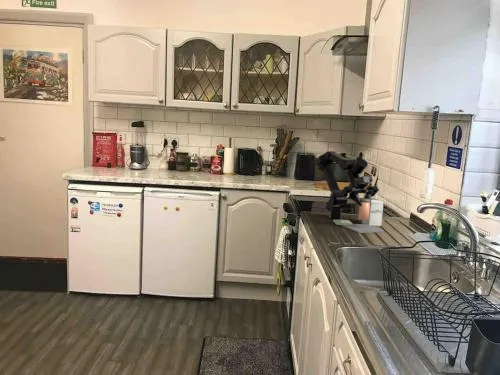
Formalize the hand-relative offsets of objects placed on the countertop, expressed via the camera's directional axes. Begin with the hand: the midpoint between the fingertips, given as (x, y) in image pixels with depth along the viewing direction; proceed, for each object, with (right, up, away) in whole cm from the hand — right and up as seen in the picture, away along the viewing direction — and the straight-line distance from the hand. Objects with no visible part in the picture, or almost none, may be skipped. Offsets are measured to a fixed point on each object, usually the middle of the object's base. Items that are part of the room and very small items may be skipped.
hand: (365, 205), depth 212 cm
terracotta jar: (-1, -7, +2) cm, 7 cm away
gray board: (-1, -12, +2) cm, 12 cm away
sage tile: (-8, -10, +14) cm, 19 cm away
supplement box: (+7, -11, +15) cm, 19 cm away
